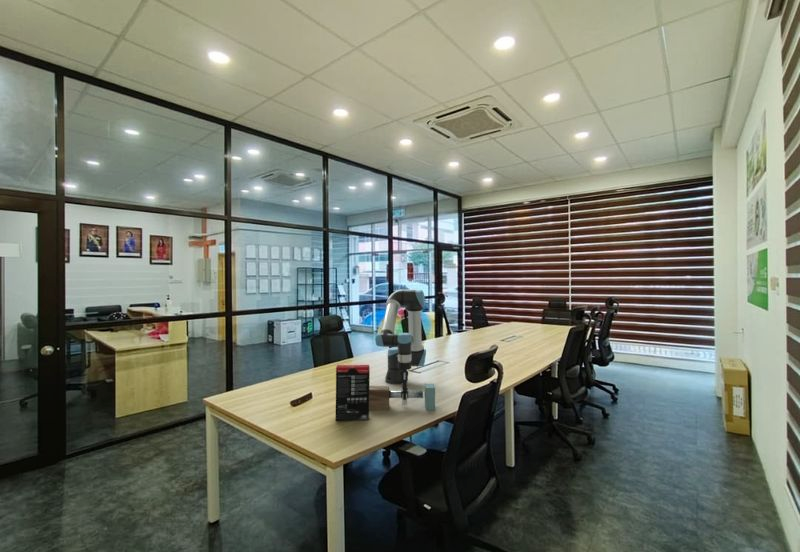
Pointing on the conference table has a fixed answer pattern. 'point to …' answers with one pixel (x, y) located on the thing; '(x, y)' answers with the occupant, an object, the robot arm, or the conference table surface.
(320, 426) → the conference table surface
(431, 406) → the teal rectangular block
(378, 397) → the brown wooden block
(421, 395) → the tube
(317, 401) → the conference table surface
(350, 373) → the graphics card box
